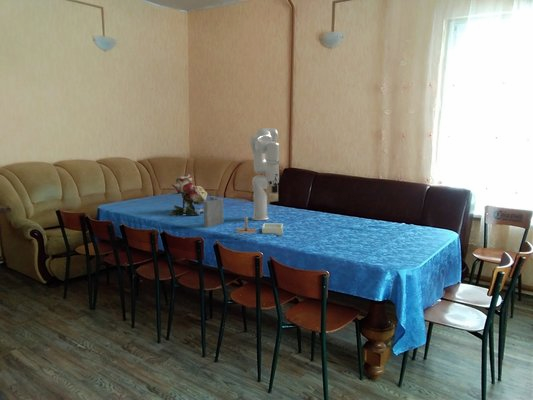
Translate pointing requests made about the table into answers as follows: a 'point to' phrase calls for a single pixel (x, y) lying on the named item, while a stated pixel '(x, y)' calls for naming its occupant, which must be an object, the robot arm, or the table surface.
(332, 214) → the table surface
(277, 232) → the bin
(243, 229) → the stud base
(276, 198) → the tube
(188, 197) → the rose bouquet
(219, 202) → the grey rectangular slab
